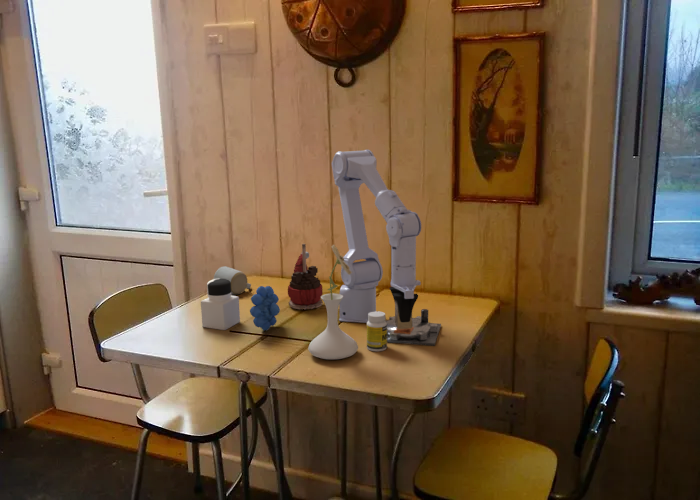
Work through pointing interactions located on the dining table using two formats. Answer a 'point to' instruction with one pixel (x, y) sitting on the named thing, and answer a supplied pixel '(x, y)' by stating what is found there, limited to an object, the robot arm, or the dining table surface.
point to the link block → (398, 323)
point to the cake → (304, 285)
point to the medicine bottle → (220, 306)
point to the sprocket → (417, 331)
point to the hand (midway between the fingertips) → (403, 318)
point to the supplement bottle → (376, 331)
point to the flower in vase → (333, 325)
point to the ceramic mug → (233, 279)
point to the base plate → (429, 341)
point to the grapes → (264, 307)
